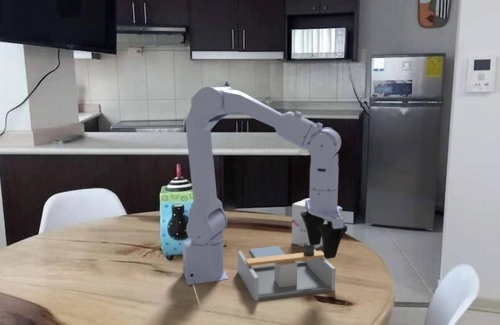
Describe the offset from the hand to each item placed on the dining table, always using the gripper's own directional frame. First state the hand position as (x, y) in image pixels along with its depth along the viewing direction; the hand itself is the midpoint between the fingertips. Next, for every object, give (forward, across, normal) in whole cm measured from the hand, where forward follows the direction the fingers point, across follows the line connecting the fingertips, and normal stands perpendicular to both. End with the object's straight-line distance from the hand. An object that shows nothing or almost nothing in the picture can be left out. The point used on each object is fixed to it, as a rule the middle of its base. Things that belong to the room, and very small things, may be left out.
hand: (322, 250), depth 93 cm
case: (+10, +8, +6) cm, 14 cm away
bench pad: (+10, +23, +5) cm, 25 cm away
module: (+9, +7, +6) cm, 13 cm away
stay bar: (+4, +7, +6) cm, 10 cm away
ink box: (+10, +30, -10) cm, 33 cm away
